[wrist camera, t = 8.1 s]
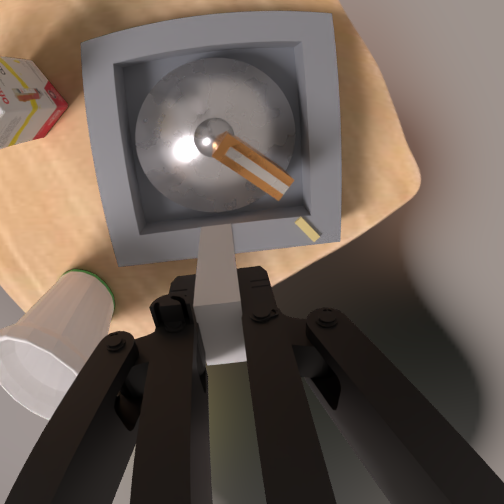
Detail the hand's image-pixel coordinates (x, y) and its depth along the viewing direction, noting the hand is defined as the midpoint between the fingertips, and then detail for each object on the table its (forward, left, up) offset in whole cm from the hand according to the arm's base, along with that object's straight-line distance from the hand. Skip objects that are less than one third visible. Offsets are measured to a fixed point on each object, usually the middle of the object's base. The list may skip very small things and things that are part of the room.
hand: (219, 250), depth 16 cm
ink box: (-13, -19, -17) cm, 28 cm away
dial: (-5, 0, -15) cm, 16 cm away
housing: (-5, 0, -17) cm, 17 cm away
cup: (+12, -19, -17) cm, 28 cm away
